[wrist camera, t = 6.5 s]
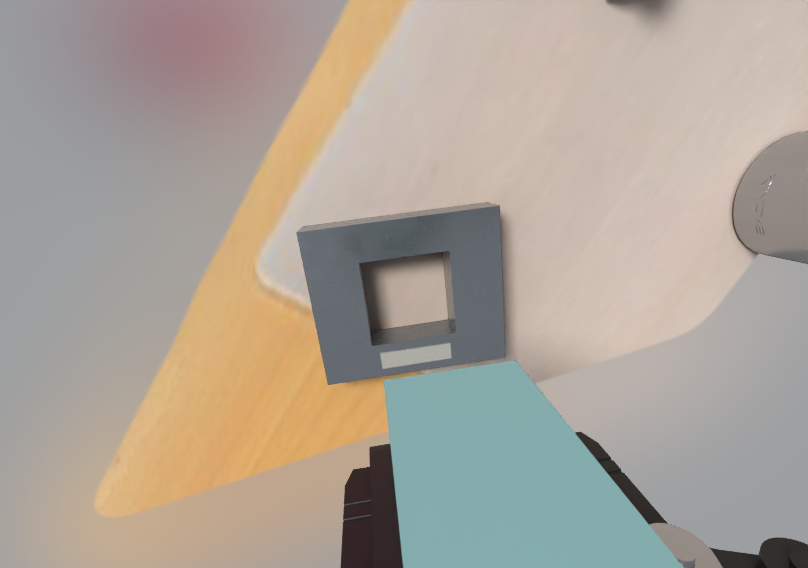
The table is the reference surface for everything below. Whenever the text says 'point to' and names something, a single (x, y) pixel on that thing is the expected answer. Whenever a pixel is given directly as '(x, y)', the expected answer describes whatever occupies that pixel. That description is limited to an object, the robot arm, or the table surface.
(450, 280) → the rail plate
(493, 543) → the teal peg
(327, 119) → the table surface
